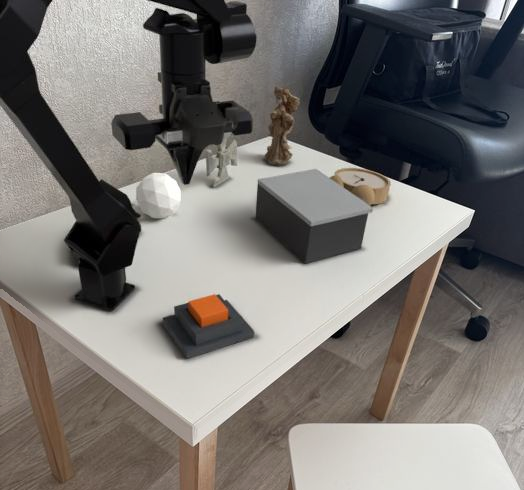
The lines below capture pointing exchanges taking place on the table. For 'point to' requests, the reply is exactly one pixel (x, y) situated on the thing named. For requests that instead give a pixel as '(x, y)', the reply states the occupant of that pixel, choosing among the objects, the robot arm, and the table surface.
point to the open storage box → (308, 230)
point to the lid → (314, 197)
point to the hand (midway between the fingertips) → (185, 183)
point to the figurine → (281, 127)
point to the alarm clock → (363, 184)
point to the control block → (206, 331)
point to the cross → (221, 160)
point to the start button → (208, 310)
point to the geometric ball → (158, 195)
